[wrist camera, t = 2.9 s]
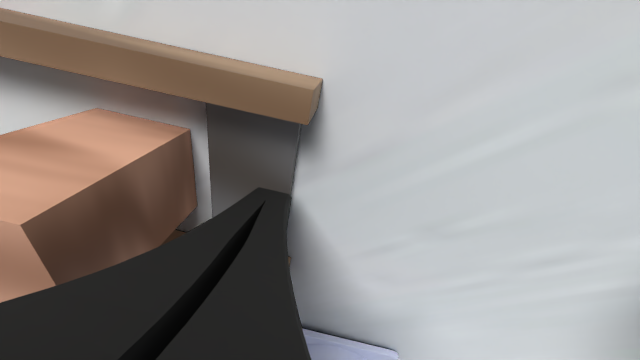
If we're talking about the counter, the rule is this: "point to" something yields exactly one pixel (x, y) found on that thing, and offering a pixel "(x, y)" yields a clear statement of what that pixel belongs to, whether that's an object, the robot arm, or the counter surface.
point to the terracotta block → (88, 196)
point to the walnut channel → (188, 96)
